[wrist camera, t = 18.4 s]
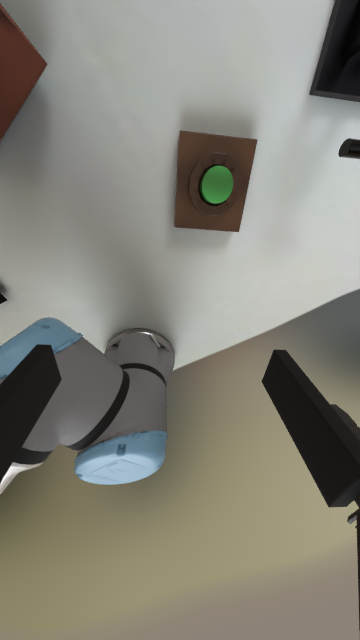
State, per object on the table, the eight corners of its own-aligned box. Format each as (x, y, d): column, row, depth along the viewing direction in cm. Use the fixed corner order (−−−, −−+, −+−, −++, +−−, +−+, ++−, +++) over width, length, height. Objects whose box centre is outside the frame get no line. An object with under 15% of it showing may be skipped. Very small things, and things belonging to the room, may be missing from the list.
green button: (226, 204, 28) (230, 204, 27) (198, 202, 28) (200, 202, 26) (232, 169, 26) (236, 167, 25) (202, 166, 26) (204, 163, 24)
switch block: (233, 230, 34) (242, 233, 30) (174, 225, 33) (175, 228, 29) (250, 144, 28) (263, 135, 24) (178, 136, 27) (181, 125, 23)
